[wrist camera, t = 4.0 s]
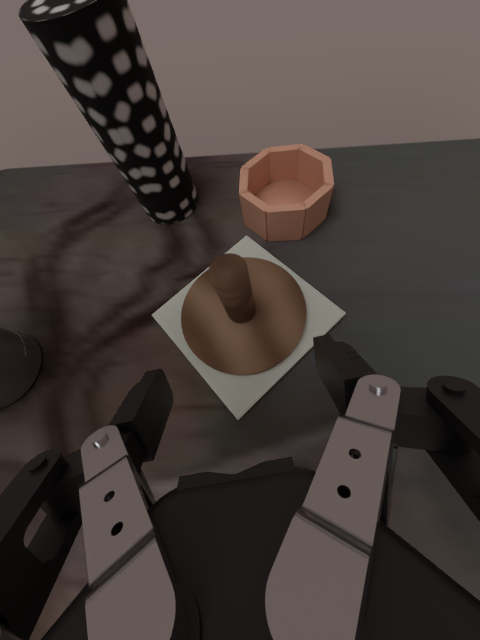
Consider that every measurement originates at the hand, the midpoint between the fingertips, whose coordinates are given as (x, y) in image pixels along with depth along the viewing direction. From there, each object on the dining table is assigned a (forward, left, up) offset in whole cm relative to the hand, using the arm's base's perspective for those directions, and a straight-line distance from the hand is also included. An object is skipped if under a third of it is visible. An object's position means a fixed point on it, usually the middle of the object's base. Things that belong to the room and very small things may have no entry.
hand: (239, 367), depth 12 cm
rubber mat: (+5, +7, -14) cm, 16 cm away
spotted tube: (+10, +29, -14) cm, 34 cm away
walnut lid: (+5, +7, -13) cm, 15 cm away
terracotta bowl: (+20, +15, -14) cm, 28 cm away
